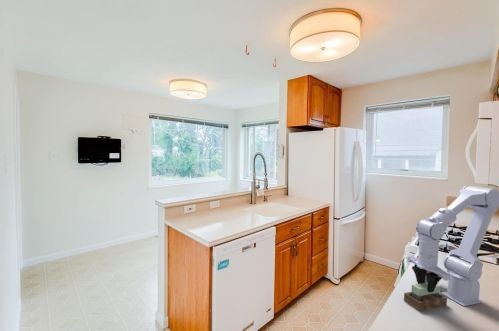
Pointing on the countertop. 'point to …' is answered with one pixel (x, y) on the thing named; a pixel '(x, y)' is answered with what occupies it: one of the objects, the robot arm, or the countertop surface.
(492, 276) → the countertop surface
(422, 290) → the green toy bench
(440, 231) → the robot arm
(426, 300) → the post base
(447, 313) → the countertop surface
